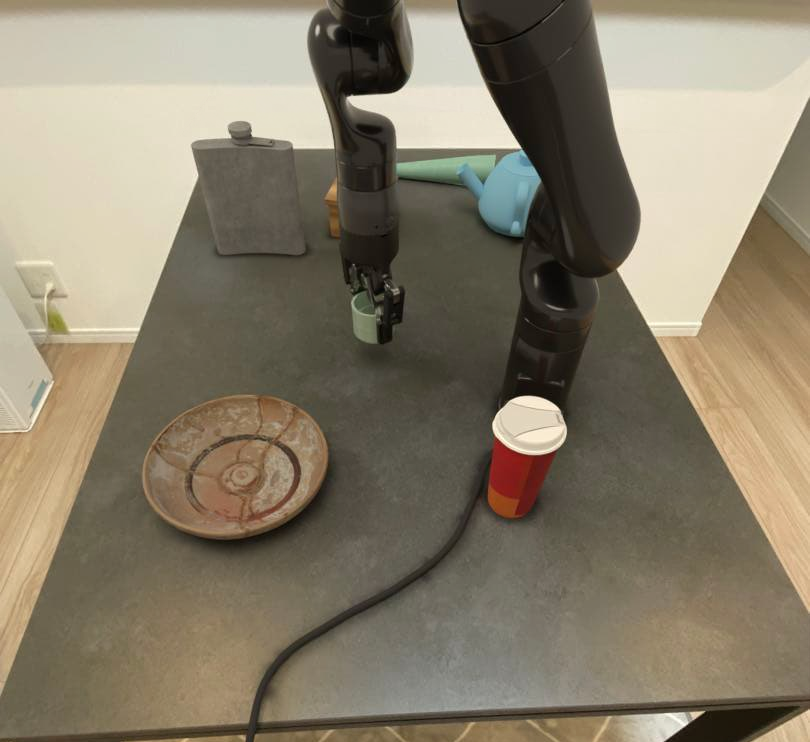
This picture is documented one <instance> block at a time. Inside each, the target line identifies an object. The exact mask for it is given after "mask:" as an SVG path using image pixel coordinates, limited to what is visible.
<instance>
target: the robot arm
mask: <svg viewBox="0 0 810 742" xmlns="http://www.w3.org/2000/svg"><path fill="white" fill-rule="evenodd" d="M325 2H326V5H327V6H326V7H322V8H320V9H318V10H317V11H316V12H315V13H314V15H313V17H312V18H311V20H310V23H309V25H308V30H307V36H306V48H307V54H308V61H309V64H310V67H311V70H312V73H313V76H314V78H315V81H316V84H317V88H318V90H319V92H320V96H321V99H322V101H323V105H324V108H325V110H326V113H327V117H328V120H329V125H330V129H331V135H332V142H333V150H334V159H335V170H336V173H335V174H336V177H337V208H338V220H339V231H340V237H339V240H340V241H339V243H338V247H339V254H340V259H341V267H342V274H343V280H344V284H345V285H347V286H348V285H350V294H351V295H352V297H354V296H355V295H357V294H358V293H360V292H362V291H365V290H366V293H367V297H368V301H369V305H370V307H372V308H374V312H375V316H376V320H377V321H376V327H377V342H378V343H377V344H379V346H383V345H385V344H388V343H390V342H392V341H393V339H394V337H393V335H394V333H393V325H395V326H396V325H399V324H402V323H403V318H404V308H405V307H404V306H405V297H406V296H405V295H406V290H405V287H404V285H403V284H400V285H396V284H395V283H394V282H393V273H392V268H391V264H392V263H393V261H394V260H395V258H396V257H397V255H398V253H399V251H400V195H399V194H400V193H399V187H398V183H397V163H398V162H397V158H398V157H397V155H398V154H397V145H398V144H397V131H396V127H395V125H394V123H393V121H392V120H391V119H390V118H388V117H387V116H386V115H384V114H381V113H378V112H373V111H370V110H369V111H368V110H366V109H362V108H359V107H356V106H355V105H353V104H352V103H351V102H350V100H349V99H348V98H349V97H363V96H364V97H365V96H375V95H376V96H377V95H379V96H380V95H391V94H395V93H397V92H399V91H401V90H402V89H403V88H404V87H405V86H406V85H407V83H408V82H409V81H410V79H411V76H412V73H413V71H414V70H413V69H414V63H415V49H414V41H413V40H414V39H413V33H412V30H411V26H410V22H409V17H408V14H407V9H406V4H405V3H406V2H405V0H325ZM455 5H456V9H457V13H458V17H459V19H460V22H461V25H462V28H463V32H464V34H465V36H466V39H467V42H468V43H469V47H470V49H471V52H472V54H473V57H474V60H475V63H476V65H477V68H478V71H479V74H480V76H481V78H482V81H483V83H484V85H485V87H486V89H487V91H488V94H489V95H490V98H491V100H492V101H493V103H494V104H495V107H496V109H497V110H498V112H499V113H500V115H501V117H502V119H503V120H504V122H505V124H506V126H507V127H508V130H509V131H510V132H511V134H512V135H513V137H514V139H515V141H516V142H517V144H518V145H519V147H520V148H521V150H523V151H524V153H525V154H526V156H527V157H528V159H529V161H530V162H531V164H532V165H533V167H534V168H535V170H536V172H537V174H538V176H539V177H540V179H541V182H540V183H539V185H538V187H537V189H536V191H535V193H534V196H533V198H532V201H531V204H530V207H529V211H528V216H527V221H526V227H525V233H524V237H523V239H522V240H523V241H522V247H521V255H520V263H519V270H518V282H519V289H520V299H519V304H518V309H517V315H516V319H515V324H514V329H513V332H512V333H513V334H512V339H511V344H510V349H509V353H508V359H507V363H506V368H505V373H504V377H503V383H502V389H501V393H500V397H499V399H498V405H497V409H498V412H499V411H500V410H501V409H502V408H503V407H504V406H505V405H506V404H507V403H508V402H509V401H510V400H512V399H514V398H517V397H522V396H535V397H540V398H543V399H546V400H548V401H550V402H552V403H553V404H554V405H556V406H557V407H558V408H559V409H560V411H561V415H562V416H564V411H565V407H566V404H567V401H568V399H569V395H570V392H571V389H572V386H573V383H574V379H575V378H576V377H575V376H576V374H577V370H578V367H579V364H580V362H581V358H582V355H583V351H584V349H585V345H586V343H587V340H588V339H589V338H588V337H589V334H590V331H591V328H592V325H593V322H594V319H595V317H596V313H597V311H598V307H599V303H600V288H599V285H598V282H597V280H596V279H599V278H602V277H605V276H607V275H610V274H611V273H613V272H615V271H616V270H617V269H619V268H620V267H621V266H622V265H623V264H624V262H625V261H626V260H627V259H628V257H630V254H631V253H632V251H633V249H634V248H635V245H636V243H637V240H638V238H639V235H640V234H639V233H640V229H641V222H642V209H641V205H640V200H639V197H638V195H637V192H636V189H635V186H634V183H633V181H632V178H631V175H630V171H629V169H628V166H627V164H626V163H627V162H626V161H625V158H624V155H623V152H622V149H621V145H620V143H619V138H618V134H617V130H616V127H615V121H614V116H613V111H612V106H611V99H610V98H611V97H610V94H609V93H610V92H609V89H608V83H607V76H606V73H605V68H604V63H603V58H602V54H601V47H600V44H599V43H600V42H599V37H598V32H597V31H598V30H597V26H596V19H595V14H594V12H595V11H594V7H593V3H592V0H455ZM350 270H351V272H350ZM383 293H384V295H383V296H382V298H380V299H377V300H375V297H374V296H378V295H380V294H383ZM381 306H383V314H382V313H381V309H380V308H381ZM492 455H493V448H492V449H490V451H489V453H487V456H486V458H484V459H485V460H484V461H483V463H482V465H481V467H480V469H479V473H478V476H477V480H476V482H475V485H474V488H473V490H472V493H471V495H470V497H469V499H468V502H467V504H466V507H465V509H464V512H463V514H462V516H461V519H460V521H459V523H458V525H457V527H456V529H455V531H454V532H453V534H452V536H451V537H450V538H449V540H448V541H447V542H446V544H444V546H443V547H442V548H441V549H440V550H439V551H438V552H437V553H436V554H434V556H433V557H431V559H429V560H428V561H427V562H426V563H425V564H423V565H421V566H420V567H419V568H417V569H416V570H414V571H413V572H411V573H410V574H408V575H407V576H405V577H404V578H402V579H401V580H399V581H398V582H396V583H394V584H392V585H391V586H390V587H388V588H387V589H385V590H383V591H381V592H379V593H377V594H375V595H373V596H372V597H369V598H367V599H365V600H363V601H361V602H359V603H358V604H357V603H356V604H355V605H353V606H352V607H351V606H350V607H349V608H348V609H346V610H344V611H342V612H340V613H338V614H337V615H336V616H334V617H333V618H331V619H330V620H328V621H326V622H325V623H322V624H321V625H319V626H318V627H316V628H314V629H313V630H310V631H309V632H308V633H305V634H304V635H302V636H301V637H299V638H297V640H294V641H293V642H292V643H291V644H289V645H288V646H287V647H286V648H285V649H284V650H283V651H281V652H280V653H279V654H278V655H277V657H276V658H275V659H274V660H273V661H272V663H271V664H270V665H269V667H268V668H267V670H266V671H265V672H264V674H263V677H262V678H261V681H260V682H259V685H258V687H257V690H256V692H255V696H254V699H253V703H252V707H251V711H250V717H249V721H248V725H247V731H246V736H245V740H244V742H254V741H255V738H256V733H257V729H258V728H257V727H258V722H259V717H260V712H261V708H262V702H263V699H264V696H265V693H266V691H267V688H268V686H269V684H270V681H271V680H272V678H273V676H274V675H275V673H276V672H277V671H278V669H279V668H280V666H281V665H282V664H283V663H284V662H285V660H287V658H288V657H290V655H292V654H293V653H294V652H295V651H296V650H298V649H300V648H301V647H302V646H304V645H305V644H307V643H308V642H310V641H312V640H313V639H315V638H317V637H318V636H321V635H322V634H324V633H326V632H327V631H329V630H330V629H332V628H333V627H335V626H337V625H338V624H340V623H342V622H343V621H345V620H346V619H348V618H350V617H351V616H353V615H355V614H357V613H359V612H361V611H363V610H365V609H367V608H370V607H371V606H373V605H375V604H377V603H379V602H381V601H382V600H385V599H387V598H388V597H390V596H392V595H393V594H395V593H397V592H398V591H400V590H401V589H403V588H404V587H406V586H407V585H409V584H410V583H412V582H413V581H415V580H416V579H418V578H419V577H421V576H422V575H423V574H425V573H426V572H428V571H429V570H431V569H432V568H433V567H434V566H435V565H437V564H438V563H439V562H440V561H441V560H442V559H443V558H444V557H445V556H446V555H447V554H448V552H450V550H451V549H452V548H453V547H454V546H455V544H456V543H457V542H458V540H459V538H460V537H461V535H462V534H463V532H464V530H465V528H466V526H467V523H468V521H469V519H470V516H471V514H472V511H473V508H474V506H475V504H476V503H477V502H476V501H477V499H478V497H479V494H480V492H481V489H482V487H483V483H484V480H485V476H486V473H487V471H488V467H489V465H491V463H492Z"/></svg>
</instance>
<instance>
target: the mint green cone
mask: <svg viewBox="0 0 810 742" xmlns="http://www.w3.org/2000/svg"><path fill="white" fill-rule="evenodd" d="M496 159H497V155H496V154H477V155H465V156H456V157H446V158H436V159H427V160H418V161H406V162H397V177H398V179H407V180H415V181H424V182H435V183H440V184H441V183H442V184H448V185H455V186H456V185H457V186H463V187H467V186H466V185H465V184H464V183H463V181H462V180H461V179H460V178H459V176H458V175H457V174H456V173H457V171H458V169H459V168H460V167H461V166H462V165H463V164H465V163H467V164H468V165H469V167H470V168H471V169H472V171H473V172H474V173H475V175H476V176H477V177H478V179H479V180H480V182H481V183H482V184H483V185H484V183H485V181H486V179H487V178H488V176H489V175H490V173H491V172H492V170H493V169H494V168H495V166H496Z"/></svg>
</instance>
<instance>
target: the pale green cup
mask: <svg viewBox="0 0 810 742" xmlns="http://www.w3.org/2000/svg"><path fill="white" fill-rule="evenodd" d="M383 295H384V293H383V294H380V295H378V296H374V297H375V300H377V299H380V298H382V296H383ZM350 307H351V318H352V329H353V333H354V335H355V337H356V338H357V339H359V340H360V341H362V342H364V343H366V344H371V345H377V344H379V343H378V342H377V327H376V321H377V320H376V316H375V312H374V308H372V307H370V305H369V301H368V297H367V293H366V290H365V291H362V292H360V293H358V294H357V295H355V296H352V299H351V301H350ZM380 309H381V313H382V314H383V306H381V308H380ZM395 326H396V325H393V334H394V332H395V328H396V327H395Z"/></svg>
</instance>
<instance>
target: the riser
mask: <svg viewBox="0 0 810 742" xmlns="http://www.w3.org/2000/svg"><path fill="white" fill-rule="evenodd" d="M398 183H399V178H398V177H397V184H398ZM323 201H324V205H328V215H329V228H330V237H335V238H340V231H339V220H338V208H337V176H336V177H335V179H334V181H333V183H332V184H331V186H330V188H329V190H328V191H327V194H326V195H325V197H324V200H323Z"/></svg>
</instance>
